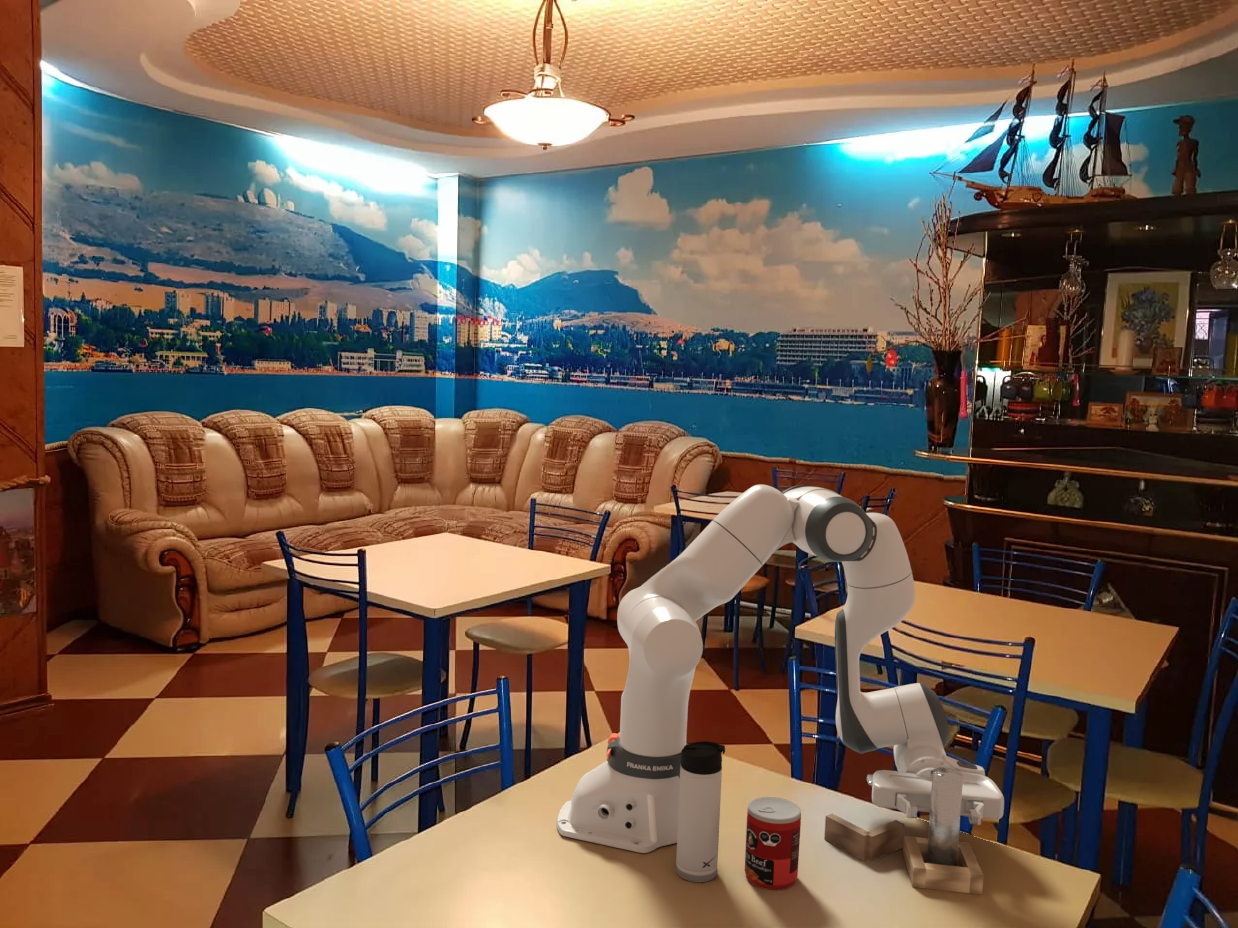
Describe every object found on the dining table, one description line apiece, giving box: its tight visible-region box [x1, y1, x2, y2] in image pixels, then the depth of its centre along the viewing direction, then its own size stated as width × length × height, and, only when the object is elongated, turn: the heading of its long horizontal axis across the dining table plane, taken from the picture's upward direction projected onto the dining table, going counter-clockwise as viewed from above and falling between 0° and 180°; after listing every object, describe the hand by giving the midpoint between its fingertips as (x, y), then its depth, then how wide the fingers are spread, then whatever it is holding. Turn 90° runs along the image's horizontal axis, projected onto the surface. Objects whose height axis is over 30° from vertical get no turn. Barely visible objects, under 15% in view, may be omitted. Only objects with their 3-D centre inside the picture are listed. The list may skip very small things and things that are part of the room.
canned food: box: [744, 796, 802, 891], centre depth 141 cm, size 8×8×11 cm
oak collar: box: [902, 835, 984, 896], centre depth 145 cm, size 10×10×3 cm
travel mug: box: [675, 740, 726, 883], centre depth 142 cm, size 6×7×20 cm
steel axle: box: [926, 768, 963, 867], centre depth 144 cm, size 4×4×16 cm
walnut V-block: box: [824, 813, 905, 862], centre depth 151 cm, size 12×7×4 cm, turn 81°
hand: (944, 816), depth 144 cm, fingers open, 8 cm apart
